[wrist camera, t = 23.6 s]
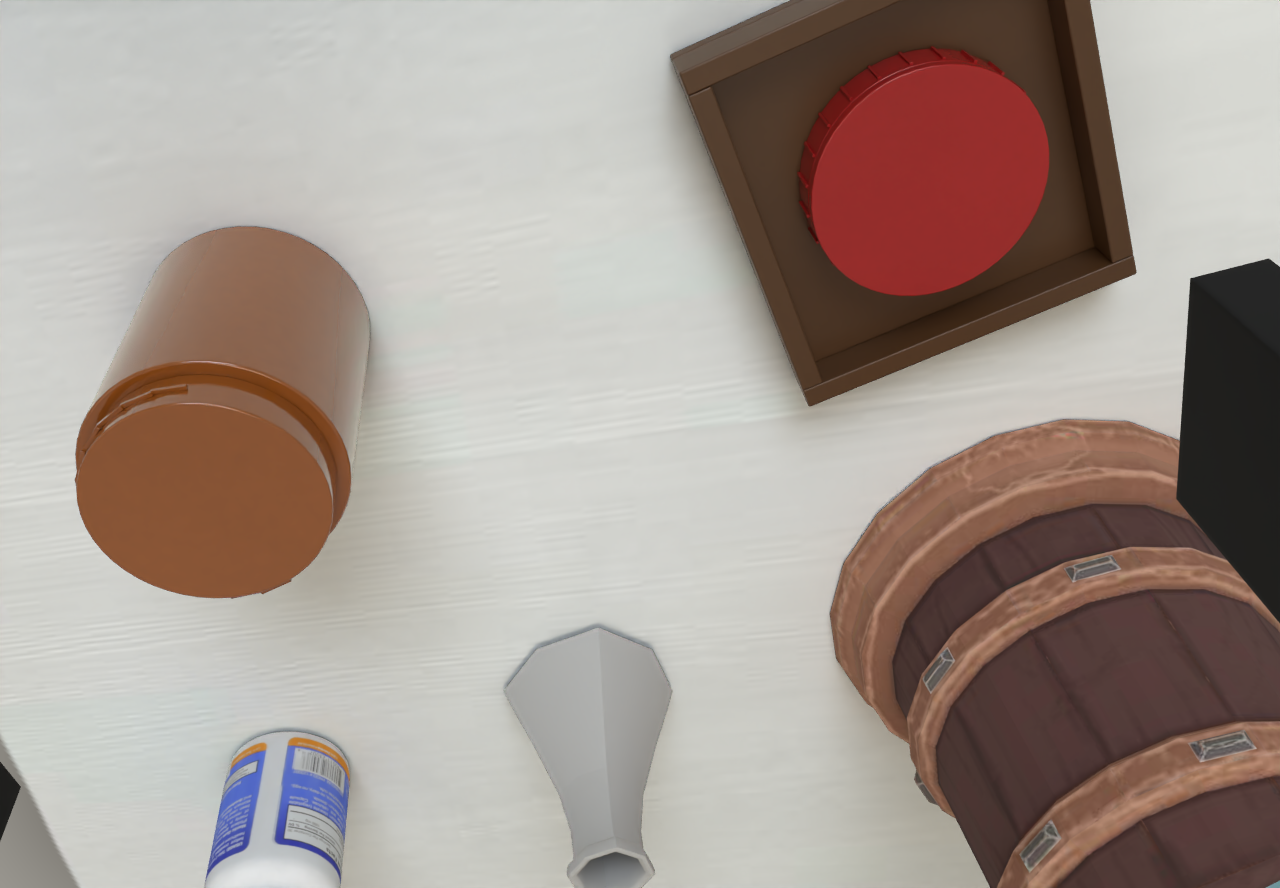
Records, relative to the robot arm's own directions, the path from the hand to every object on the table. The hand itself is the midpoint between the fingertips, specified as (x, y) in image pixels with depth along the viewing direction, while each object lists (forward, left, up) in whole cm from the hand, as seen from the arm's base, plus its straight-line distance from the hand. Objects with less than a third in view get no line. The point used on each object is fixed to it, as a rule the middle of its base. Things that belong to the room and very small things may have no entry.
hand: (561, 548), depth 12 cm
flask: (+30, -10, -29) cm, 43 cm away
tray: (+12, +10, -29) cm, 33 cm away
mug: (+35, +12, -29) cm, 47 cm away
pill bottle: (+28, -24, -29) cm, 47 cm away
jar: (+8, -13, -29) cm, 32 cm away
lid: (+12, +10, -27) cm, 31 cm away
